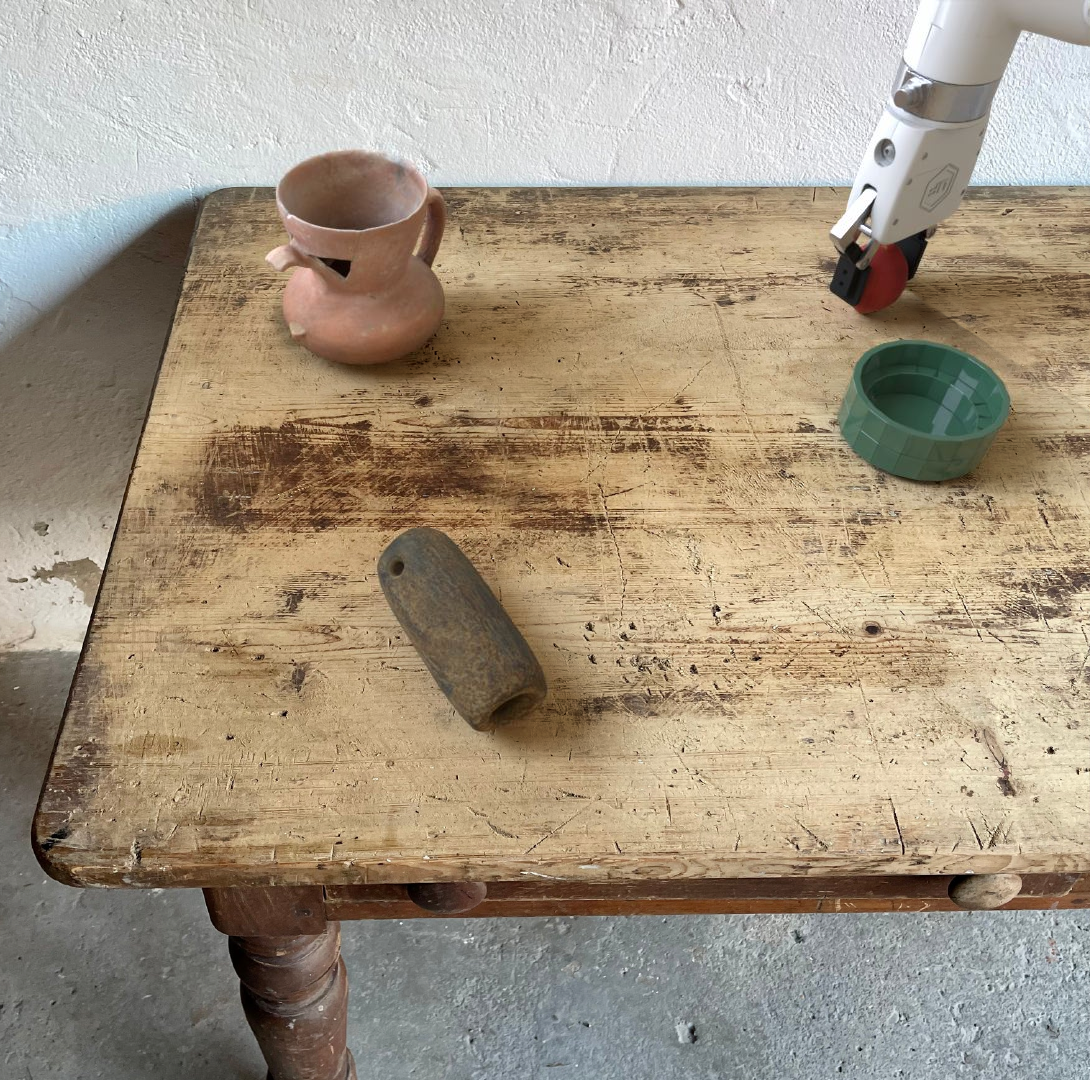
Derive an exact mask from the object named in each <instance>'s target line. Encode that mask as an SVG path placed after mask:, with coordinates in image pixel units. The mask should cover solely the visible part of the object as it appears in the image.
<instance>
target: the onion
mask: <svg viewBox="0 0 1090 1080" xmlns="http://www.w3.org/2000/svg"><path fill="white" fill-rule="evenodd" d="M867 244H868V242H867V243H865V244H864V245H861V246H860V247H861V249H862V250H864V249H865V247H866V245H867ZM869 266H871V267H872V270H871V273H870V276H869V279H868V281H867V284H866V287H865V290H864V292H863V295H862V298H861V301H860V303H859V304H858V305H856V306H854V307H853V309H854V311H855V312H856V313H858V314H861V315H866V314H869V313H873V312H878V311H881V310H884V309H887V308H889V307H890V306H891V305H893V304H894V303H896V302H897V300H898V299H899V298H900V297H901V296H902V294H903V292H904V291H905V289H906V287H907V284H908V281H909V280H908V263H907V260H906V258H905V256H904V254H903V253H902V251H901V249H900V248H899V247H898V246H897V245H896V244H895V243H892V244H888V245H882V244H881V245H880V247H879V248H878V250H877V252H876V253H875V255H874V256H873V258H872V260H871V261H870V263H869ZM907 280H908V281H907Z"/></svg>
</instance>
